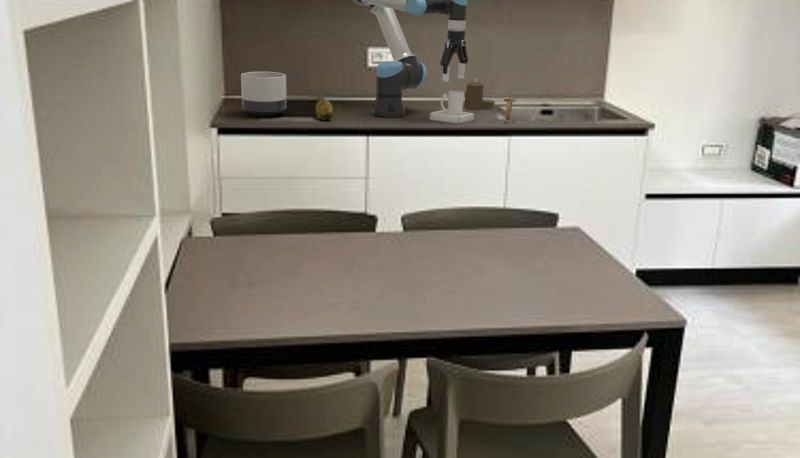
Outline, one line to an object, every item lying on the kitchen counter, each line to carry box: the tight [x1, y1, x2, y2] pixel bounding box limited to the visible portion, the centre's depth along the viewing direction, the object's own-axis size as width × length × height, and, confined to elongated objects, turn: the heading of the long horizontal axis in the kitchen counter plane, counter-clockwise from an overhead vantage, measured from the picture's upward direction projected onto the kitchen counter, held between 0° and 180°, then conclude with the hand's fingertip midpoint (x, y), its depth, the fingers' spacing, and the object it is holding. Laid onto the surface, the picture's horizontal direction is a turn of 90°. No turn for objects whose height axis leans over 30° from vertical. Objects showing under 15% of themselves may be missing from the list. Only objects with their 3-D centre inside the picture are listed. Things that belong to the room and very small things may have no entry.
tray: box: [429, 109, 475, 125], centre depth 350 cm, size 15×13×3 cm
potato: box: [315, 98, 334, 121], centre depth 342 cm, size 8×13×8 cm, turn 178°
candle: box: [464, 77, 495, 111], centre depth 380 cm, size 14×14×15 cm
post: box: [503, 97, 517, 122], centre depth 350 cm, size 5×4×10 cm
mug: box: [440, 90, 465, 117], centre depth 348 cm, size 10×7×12 cm, turn 78°
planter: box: [240, 71, 287, 117], centre depth 345 cm, size 19×19×18 cm
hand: (453, 79), depth 346 cm, fingers open, 13 cm apart
